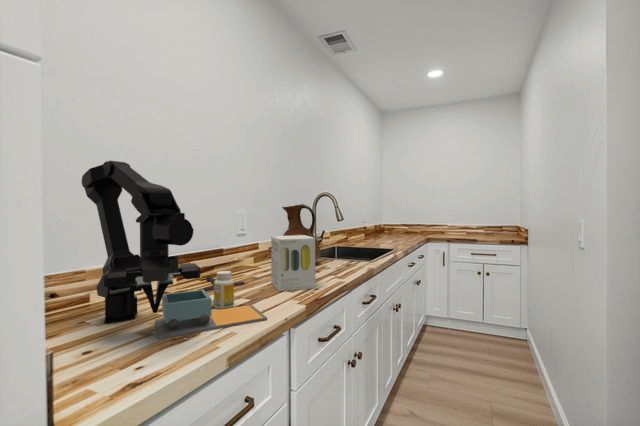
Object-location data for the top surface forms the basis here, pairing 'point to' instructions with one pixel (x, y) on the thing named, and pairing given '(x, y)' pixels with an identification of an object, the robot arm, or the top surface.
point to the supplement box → (293, 262)
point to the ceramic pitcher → (300, 225)
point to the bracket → (214, 281)
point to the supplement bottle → (223, 290)
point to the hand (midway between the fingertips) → (155, 312)
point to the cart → (186, 307)
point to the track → (212, 321)
